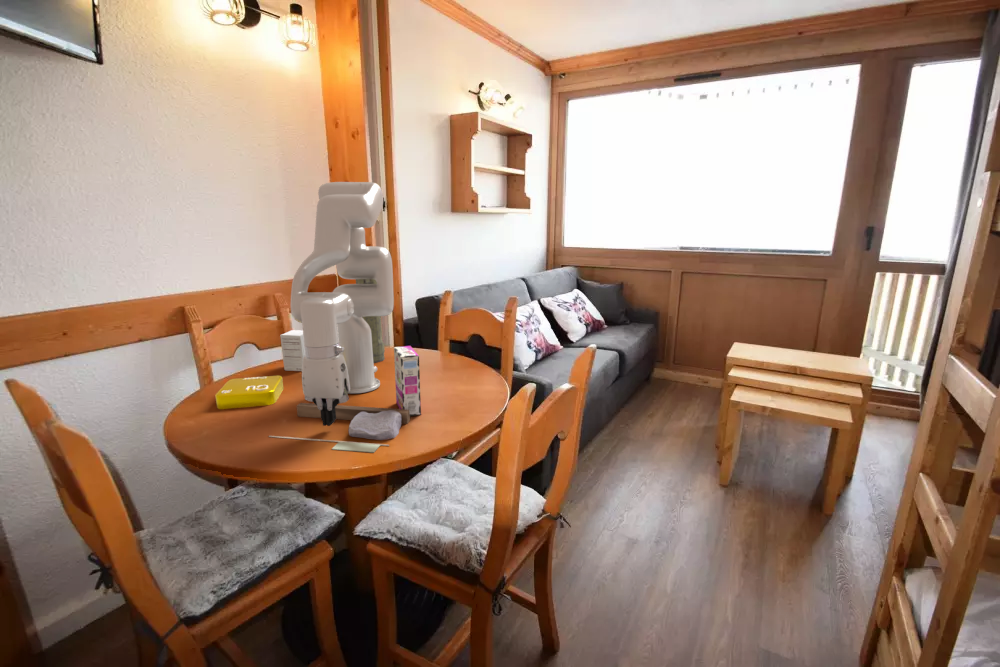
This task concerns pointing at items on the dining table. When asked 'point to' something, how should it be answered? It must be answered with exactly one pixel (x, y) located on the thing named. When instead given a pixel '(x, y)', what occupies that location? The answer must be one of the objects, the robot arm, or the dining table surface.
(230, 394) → the element tile
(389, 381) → the dining table surface
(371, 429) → the stone block
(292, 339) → the supplement box
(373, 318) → the thermos
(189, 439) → the dining table surface
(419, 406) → the candy bar box
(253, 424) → the dining table surface
